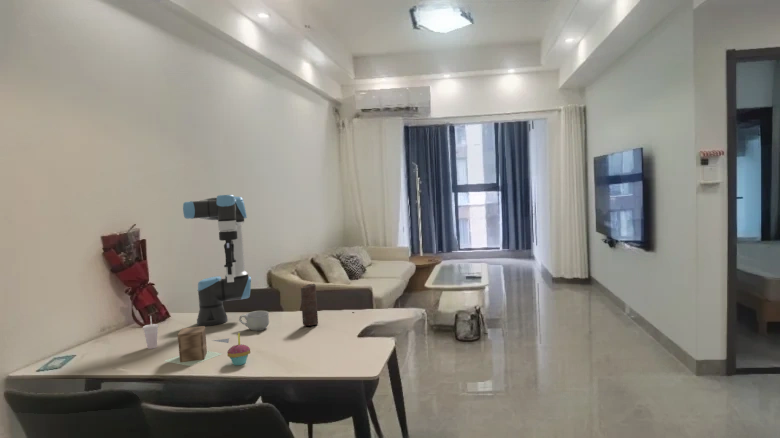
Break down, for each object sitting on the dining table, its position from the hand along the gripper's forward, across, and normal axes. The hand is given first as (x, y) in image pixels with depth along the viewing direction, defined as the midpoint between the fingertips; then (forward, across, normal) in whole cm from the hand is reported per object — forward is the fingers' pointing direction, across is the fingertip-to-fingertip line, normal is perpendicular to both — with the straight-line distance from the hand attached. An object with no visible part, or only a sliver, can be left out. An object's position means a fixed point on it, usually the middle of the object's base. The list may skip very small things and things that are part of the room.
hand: (231, 279), depth 224 cm
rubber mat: (+28, +4, +12) cm, 31 cm away
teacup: (+29, +23, -8) cm, 38 cm away
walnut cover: (+28, -14, +16) cm, 35 cm away
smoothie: (+29, +12, +36) cm, 48 cm away
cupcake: (+28, -28, -3) cm, 40 cm away
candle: (+29, +18, -34) cm, 48 cm away
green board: (+28, -14, +16) cm, 35 cm away
